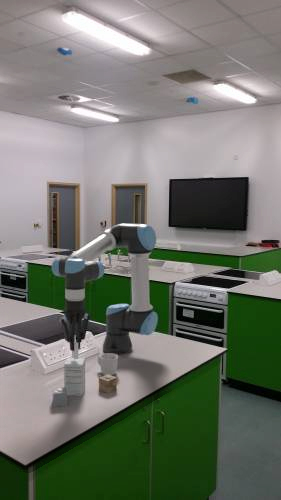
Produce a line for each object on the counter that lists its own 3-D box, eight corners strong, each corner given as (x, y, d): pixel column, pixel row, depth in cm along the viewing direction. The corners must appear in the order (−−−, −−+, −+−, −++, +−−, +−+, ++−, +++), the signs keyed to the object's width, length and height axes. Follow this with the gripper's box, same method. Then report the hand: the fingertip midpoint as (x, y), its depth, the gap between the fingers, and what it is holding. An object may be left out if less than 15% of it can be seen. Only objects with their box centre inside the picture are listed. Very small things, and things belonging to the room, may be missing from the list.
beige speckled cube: (107, 385, 178) (107, 373, 178) (116, 389, 175) (116, 377, 174) (98, 389, 174) (98, 377, 174) (107, 393, 171) (107, 380, 170)
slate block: (66, 399, 165) (66, 386, 164) (67, 405, 160) (67, 392, 160) (52, 400, 164) (52, 387, 163) (53, 406, 159) (53, 393, 158)
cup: (91, 372, 192) (91, 354, 191) (105, 367, 198) (105, 350, 197) (108, 379, 185) (108, 360, 184) (121, 373, 191) (121, 356, 190)
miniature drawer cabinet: (67, 387, 176) (67, 357, 174) (85, 388, 176) (85, 357, 174) (63, 395, 168) (63, 363, 167) (82, 396, 168) (82, 364, 167)
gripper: (85, 295, 175) (85, 352, 177) (55, 298, 167) (55, 358, 170) (94, 298, 169) (94, 357, 171) (63, 302, 161) (63, 364, 164)
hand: (75, 357), depth 171 cm, fingers closed
